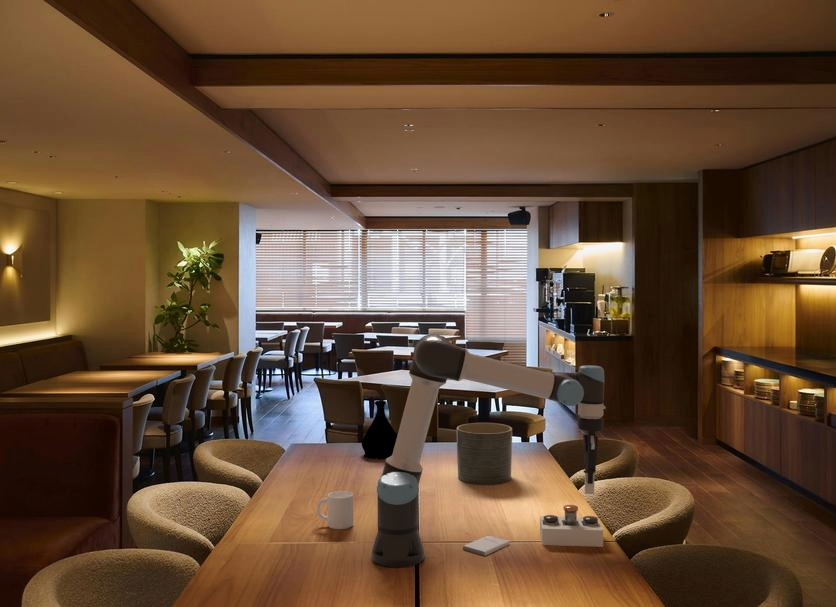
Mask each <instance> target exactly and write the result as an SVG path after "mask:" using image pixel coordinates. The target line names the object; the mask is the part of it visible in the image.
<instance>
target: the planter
mask: <svg viewBox="0 0 836 607" xmlns="http://www.w3.org/2000/svg"><path fill="white" fill-rule="evenodd" d="M456 454H457V455H456V458H457V461H456V462H457V478H458V479H459V481H461V482H464V483H468V484H473V485H474V484H475V485H479V486H480V485H483V486H486V485H488V486H489V485H490V486H491V485H500V484H504V483H507V482H509V481H510V480H511V479H512V460H513V456H512V455H513V427H511V426H510V425H507V424H503V423H495V422H474V423H473V422H472V423H465V424H461V425H458V426H457V427H456Z"/></svg>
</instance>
